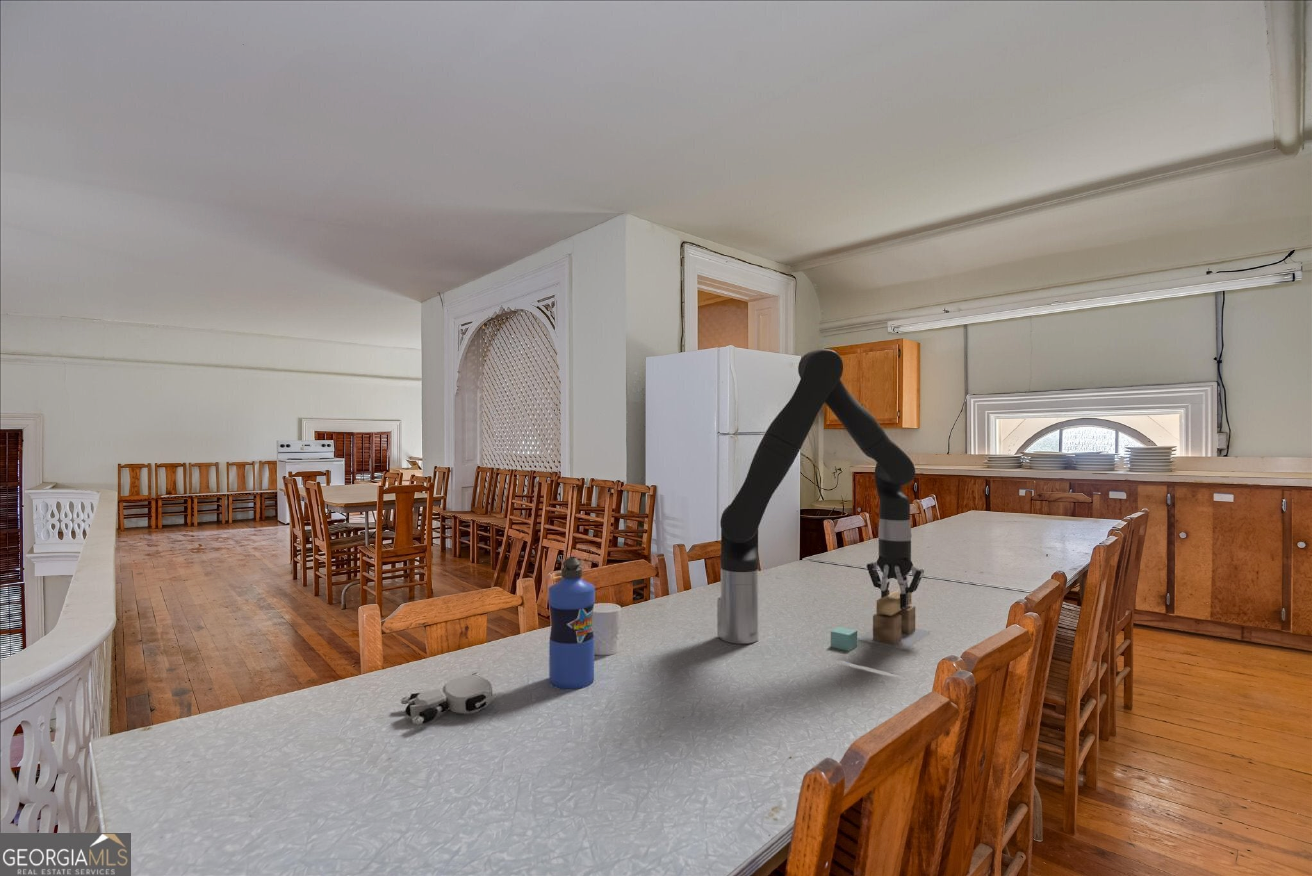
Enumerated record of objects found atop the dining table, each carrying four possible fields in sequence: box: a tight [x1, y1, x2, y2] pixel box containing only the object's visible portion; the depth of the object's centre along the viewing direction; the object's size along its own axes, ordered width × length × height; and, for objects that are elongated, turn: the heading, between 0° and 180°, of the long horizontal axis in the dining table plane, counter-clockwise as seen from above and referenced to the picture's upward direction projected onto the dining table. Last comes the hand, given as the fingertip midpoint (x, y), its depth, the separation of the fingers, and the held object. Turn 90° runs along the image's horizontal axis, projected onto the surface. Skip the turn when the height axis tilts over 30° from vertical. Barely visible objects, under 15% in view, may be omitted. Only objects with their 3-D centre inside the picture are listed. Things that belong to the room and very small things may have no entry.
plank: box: [875, 589, 912, 616], centre depth 154 cm, size 4×14×3 cm, turn 139°
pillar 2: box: [895, 604, 916, 635], centre depth 157 cm, size 5×5×6 cm
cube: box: [830, 626, 858, 652], centre depth 145 cm, size 4×4×4 cm
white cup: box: [592, 602, 622, 656], centre depth 145 cm, size 8×8×10 cm
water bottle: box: [548, 556, 596, 690], centre depth 127 cm, size 9×9×25 cm
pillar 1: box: [872, 613, 901, 645], centre depth 150 cm, size 5×5×6 cm
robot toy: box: [400, 671, 499, 725], centre depth 112 cm, size 12×4×15 cm
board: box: [857, 627, 932, 651], centre depth 154 cm, size 12×18×1 cm, turn 139°
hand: (894, 606), depth 154 cm, fingers closed on plank, 3 cm apart
